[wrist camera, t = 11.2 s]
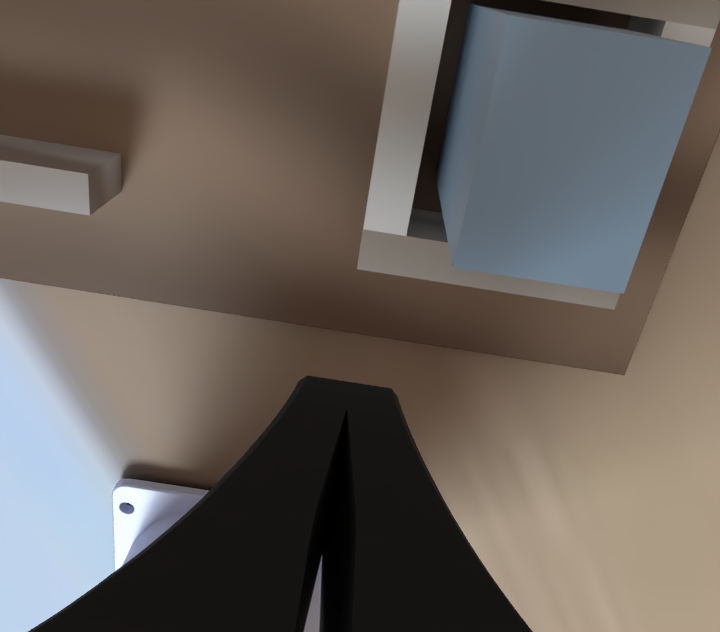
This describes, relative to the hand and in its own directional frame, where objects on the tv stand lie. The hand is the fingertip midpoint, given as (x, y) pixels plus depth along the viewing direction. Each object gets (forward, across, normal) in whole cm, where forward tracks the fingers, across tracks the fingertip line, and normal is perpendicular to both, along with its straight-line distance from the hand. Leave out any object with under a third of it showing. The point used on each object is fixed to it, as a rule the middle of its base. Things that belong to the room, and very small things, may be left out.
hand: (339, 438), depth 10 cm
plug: (+9, -3, -4) cm, 10 cm away
